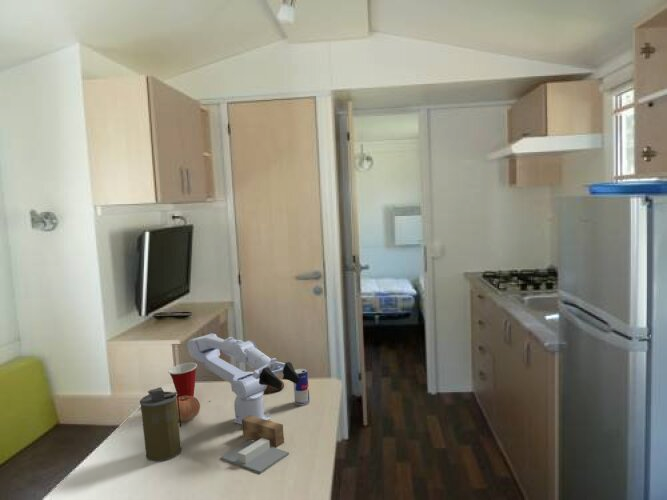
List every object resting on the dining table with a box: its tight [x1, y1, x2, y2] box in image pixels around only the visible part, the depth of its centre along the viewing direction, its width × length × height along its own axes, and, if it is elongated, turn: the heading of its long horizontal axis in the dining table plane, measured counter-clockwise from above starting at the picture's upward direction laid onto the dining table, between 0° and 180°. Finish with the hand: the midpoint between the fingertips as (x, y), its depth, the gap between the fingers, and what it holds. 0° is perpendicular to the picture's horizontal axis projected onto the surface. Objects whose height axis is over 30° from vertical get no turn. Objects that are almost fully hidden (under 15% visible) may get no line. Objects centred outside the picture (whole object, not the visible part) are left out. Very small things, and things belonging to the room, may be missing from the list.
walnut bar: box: [241, 415, 285, 449], centre depth 164 cm, size 14×4×6 cm, turn 54°
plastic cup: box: [167, 362, 198, 397], centre depth 203 cm, size 11×11×12 cm
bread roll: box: [264, 379, 285, 395], centre depth 207 cm, size 11×11×5 cm
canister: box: [139, 386, 182, 463], centre depth 159 cm, size 11×10×20 cm
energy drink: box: [293, 367, 311, 406], centre depth 190 cm, size 5×5×12 cm
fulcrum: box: [219, 438, 290, 474], centre depth 154 cm, size 16×12×3 cm
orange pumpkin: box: [176, 396, 201, 423], centre depth 183 cm, size 11×11×8 cm
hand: (290, 383), depth 162 cm, fingers open, 7 cm apart
